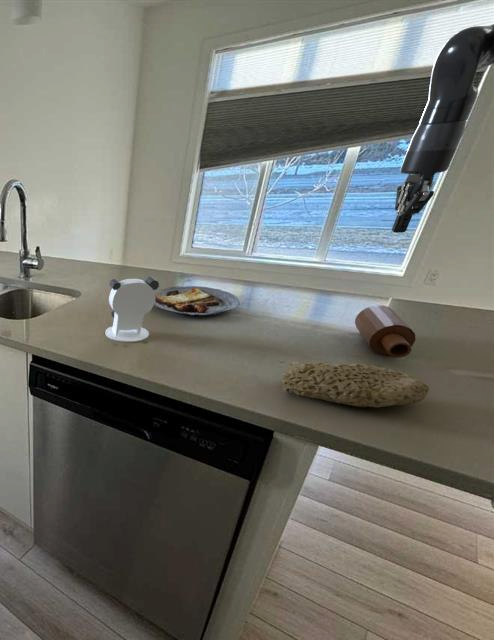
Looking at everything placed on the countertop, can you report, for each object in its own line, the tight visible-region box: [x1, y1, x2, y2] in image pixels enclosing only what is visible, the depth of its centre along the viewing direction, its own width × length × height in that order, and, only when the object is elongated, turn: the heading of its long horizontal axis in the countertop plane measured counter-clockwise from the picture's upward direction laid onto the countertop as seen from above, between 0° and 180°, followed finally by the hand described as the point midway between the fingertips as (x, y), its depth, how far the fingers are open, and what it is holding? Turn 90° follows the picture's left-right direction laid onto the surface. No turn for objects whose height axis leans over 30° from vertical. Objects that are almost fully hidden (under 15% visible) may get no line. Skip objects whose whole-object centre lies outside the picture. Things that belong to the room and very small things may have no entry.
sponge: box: [281, 361, 430, 408], centre depth 75 cm, size 13×8×20 cm
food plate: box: [154, 285, 241, 317], centre depth 123 cm, size 25×23×4 cm
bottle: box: [354, 304, 416, 359], centre depth 91 cm, size 7×7×18 cm
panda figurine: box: [104, 276, 160, 343], centre depth 107 cm, size 12×11×15 cm
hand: (397, 231), depth 95 cm, fingers closed
